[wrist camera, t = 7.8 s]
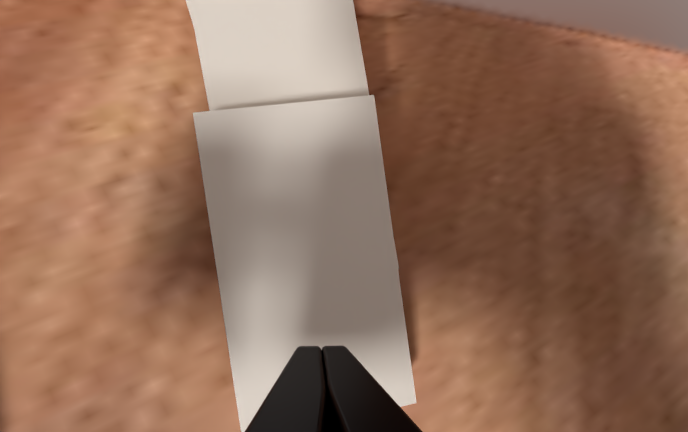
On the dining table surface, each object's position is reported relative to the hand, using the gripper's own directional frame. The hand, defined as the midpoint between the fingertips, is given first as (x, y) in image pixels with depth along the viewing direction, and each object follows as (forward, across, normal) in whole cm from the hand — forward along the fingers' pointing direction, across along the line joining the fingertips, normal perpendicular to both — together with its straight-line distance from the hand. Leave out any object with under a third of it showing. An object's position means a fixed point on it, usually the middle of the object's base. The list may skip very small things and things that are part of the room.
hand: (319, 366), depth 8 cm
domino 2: (+7, 0, +2) cm, 7 cm away
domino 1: (+4, -1, +5) cm, 6 cm away
